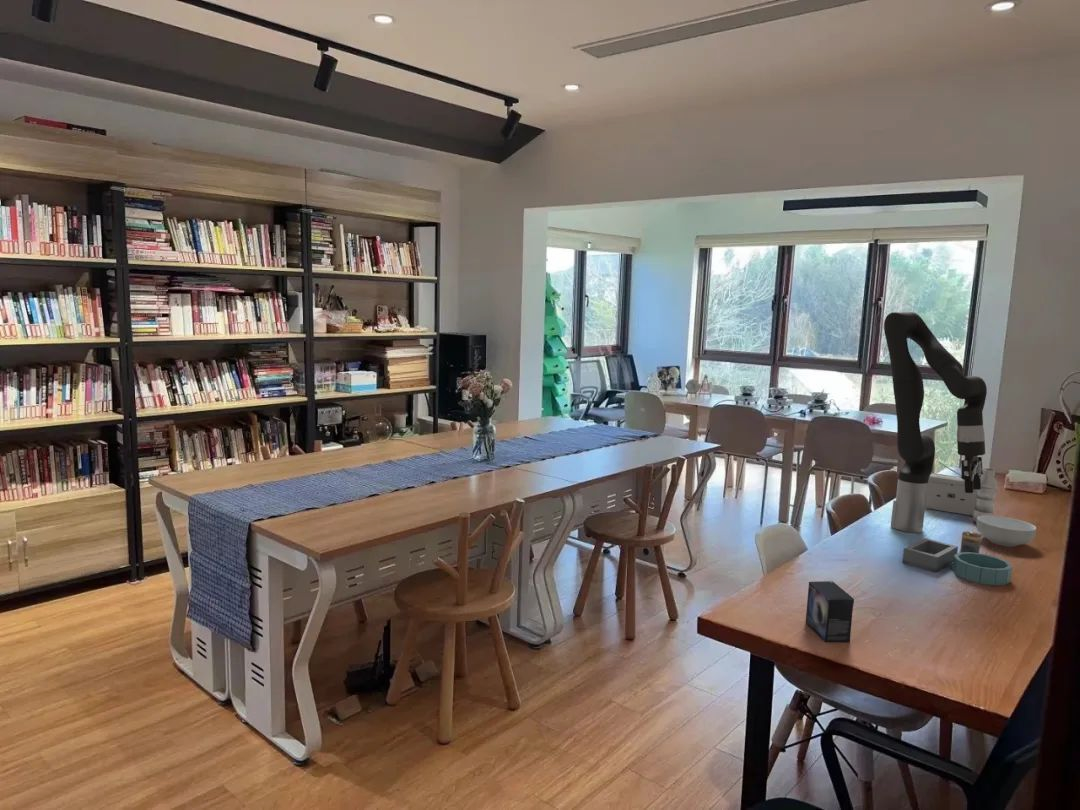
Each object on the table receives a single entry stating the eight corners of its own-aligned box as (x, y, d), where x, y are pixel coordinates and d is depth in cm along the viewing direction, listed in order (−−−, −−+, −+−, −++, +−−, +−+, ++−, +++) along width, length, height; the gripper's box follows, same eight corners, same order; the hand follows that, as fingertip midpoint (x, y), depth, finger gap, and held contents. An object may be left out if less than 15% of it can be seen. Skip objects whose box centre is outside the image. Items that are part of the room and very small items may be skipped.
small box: (803, 622, 177) (807, 580, 175) (829, 622, 177) (833, 580, 176) (823, 642, 166) (827, 598, 165) (851, 642, 167) (855, 598, 165)
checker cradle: (902, 562, 221) (903, 548, 220) (923, 551, 232) (925, 538, 231) (936, 572, 214) (937, 557, 213) (956, 560, 225) (958, 546, 224)
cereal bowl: (1043, 553, 234) (1046, 532, 233) (985, 548, 238) (988, 527, 237) (1020, 537, 251) (1023, 517, 250) (966, 532, 254) (969, 512, 253)
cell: (957, 556, 229) (960, 531, 227) (962, 553, 232) (966, 528, 231) (975, 561, 225) (978, 536, 224) (980, 557, 228) (984, 532, 227)
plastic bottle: (996, 527, 261) (1003, 472, 258) (975, 525, 262) (982, 470, 260) (989, 522, 267) (996, 468, 264) (968, 520, 269) (975, 466, 266)
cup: (945, 573, 213) (947, 558, 212) (963, 563, 222) (964, 549, 222) (1000, 589, 203) (1002, 573, 202) (1016, 577, 212) (1018, 562, 211)
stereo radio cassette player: (984, 514, 278) (991, 462, 276) (983, 519, 272) (990, 466, 269) (922, 504, 289) (928, 454, 287) (920, 508, 283) (926, 457, 280)
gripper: (963, 438, 240) (966, 487, 240) (950, 441, 230) (953, 493, 230) (990, 438, 235) (992, 489, 235) (978, 441, 225) (980, 494, 225)
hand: (973, 491), depth 232 cm, fingers open, 8 cm apart
